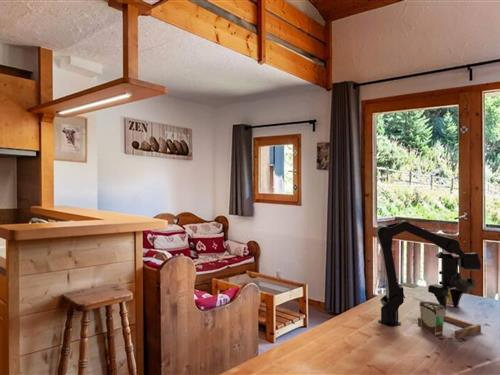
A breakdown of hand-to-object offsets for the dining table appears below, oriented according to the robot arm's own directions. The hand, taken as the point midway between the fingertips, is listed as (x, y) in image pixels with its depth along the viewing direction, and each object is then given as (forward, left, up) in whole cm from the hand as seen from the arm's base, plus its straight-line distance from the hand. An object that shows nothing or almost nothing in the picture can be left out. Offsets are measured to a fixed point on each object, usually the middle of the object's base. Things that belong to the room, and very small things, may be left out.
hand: (449, 308), depth 146 cm
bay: (-8, 0, -7) cm, 11 cm away
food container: (-9, 0, -7) cm, 12 cm away
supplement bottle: (+26, +17, -7) cm, 32 cm away
